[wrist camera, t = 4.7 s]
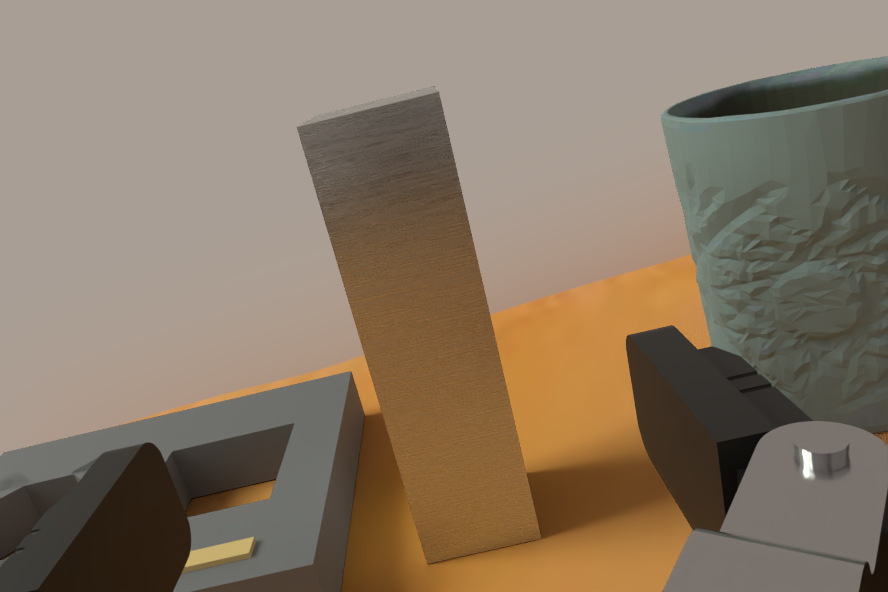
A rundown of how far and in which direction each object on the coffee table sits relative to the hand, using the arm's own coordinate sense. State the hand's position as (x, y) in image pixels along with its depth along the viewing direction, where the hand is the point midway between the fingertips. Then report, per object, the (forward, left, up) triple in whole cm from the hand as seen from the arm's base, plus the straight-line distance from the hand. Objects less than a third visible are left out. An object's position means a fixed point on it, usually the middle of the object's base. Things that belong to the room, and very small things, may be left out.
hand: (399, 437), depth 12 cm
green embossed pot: (-15, -16, -10) cm, 24 cm away
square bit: (0, -12, -10) cm, 15 cm away
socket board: (+14, -15, -10) cm, 22 cm away
